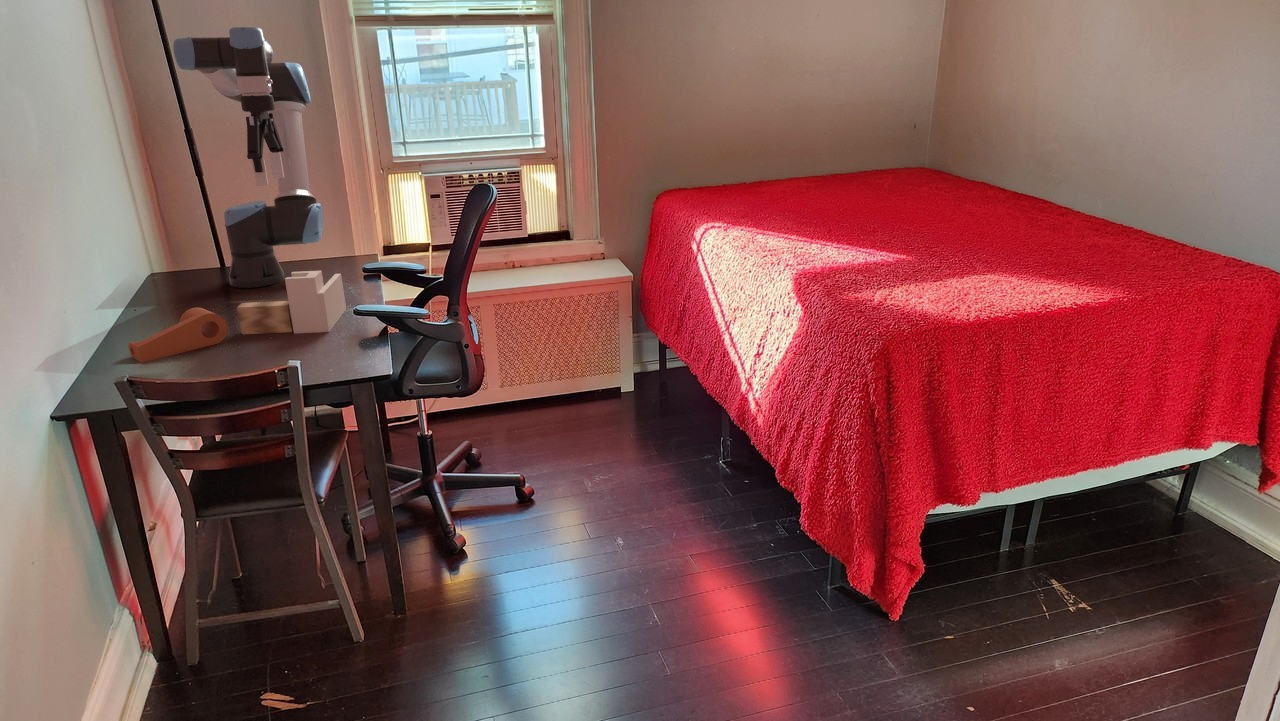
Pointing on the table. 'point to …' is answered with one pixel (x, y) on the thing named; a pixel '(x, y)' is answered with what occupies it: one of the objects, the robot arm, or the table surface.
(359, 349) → the table surface
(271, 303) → the tan wooden block
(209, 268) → the table surface
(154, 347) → the crank
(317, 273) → the white notched block
